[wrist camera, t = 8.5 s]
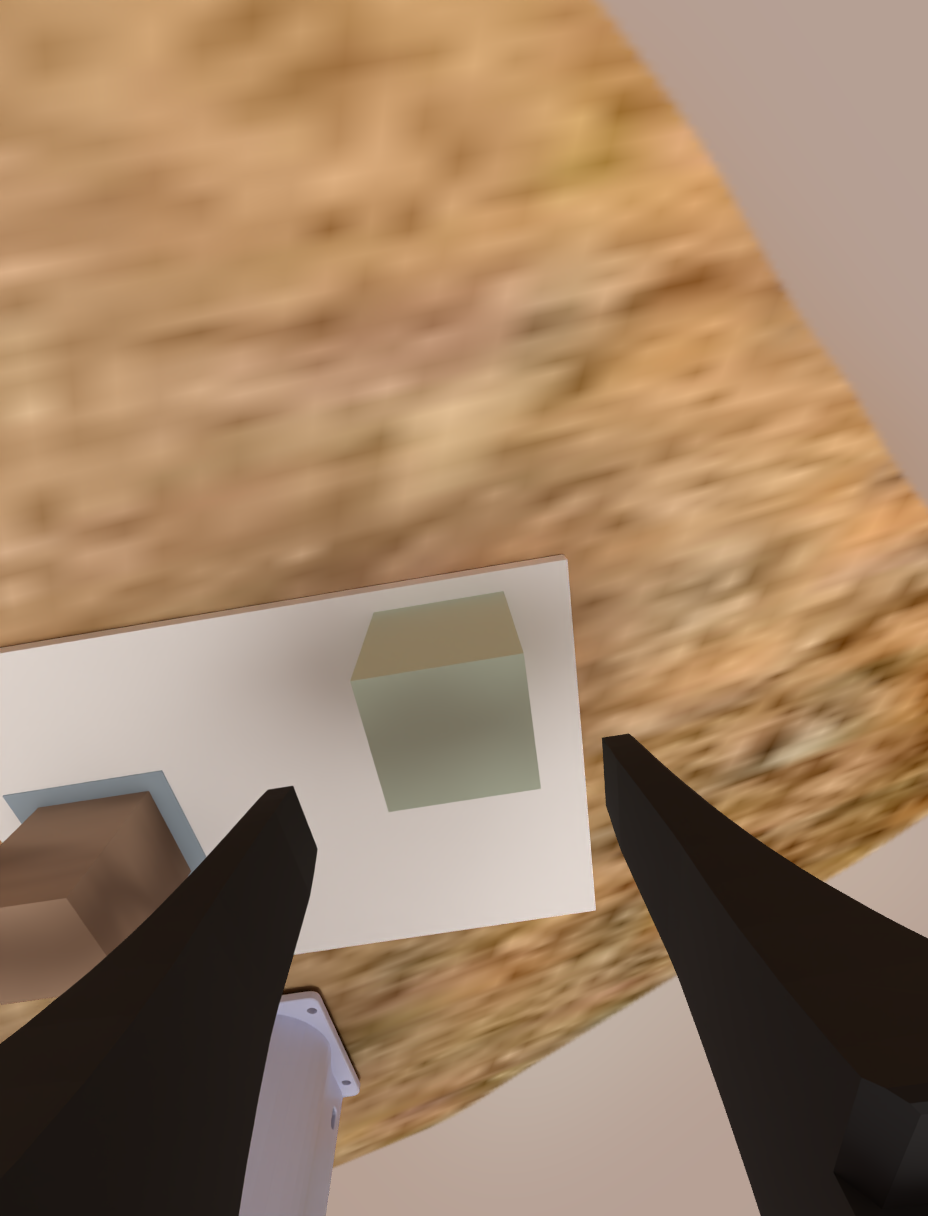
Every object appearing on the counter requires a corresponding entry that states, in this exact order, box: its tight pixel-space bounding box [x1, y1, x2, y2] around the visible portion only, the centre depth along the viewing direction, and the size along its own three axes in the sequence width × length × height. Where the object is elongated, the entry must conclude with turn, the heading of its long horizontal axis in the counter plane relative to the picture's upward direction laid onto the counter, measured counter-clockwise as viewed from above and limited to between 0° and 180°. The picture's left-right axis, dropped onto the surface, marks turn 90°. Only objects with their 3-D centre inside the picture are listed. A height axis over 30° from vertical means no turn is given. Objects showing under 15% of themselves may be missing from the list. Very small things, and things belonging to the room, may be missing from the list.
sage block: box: [350, 591, 541, 812], centre depth 15 cm, size 4×4×4 cm
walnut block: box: [0, 791, 191, 1005], centre depth 18 cm, size 4×4×4 cm
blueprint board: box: [0, 554, 596, 955], centre depth 20 cm, size 18×24×1 cm
